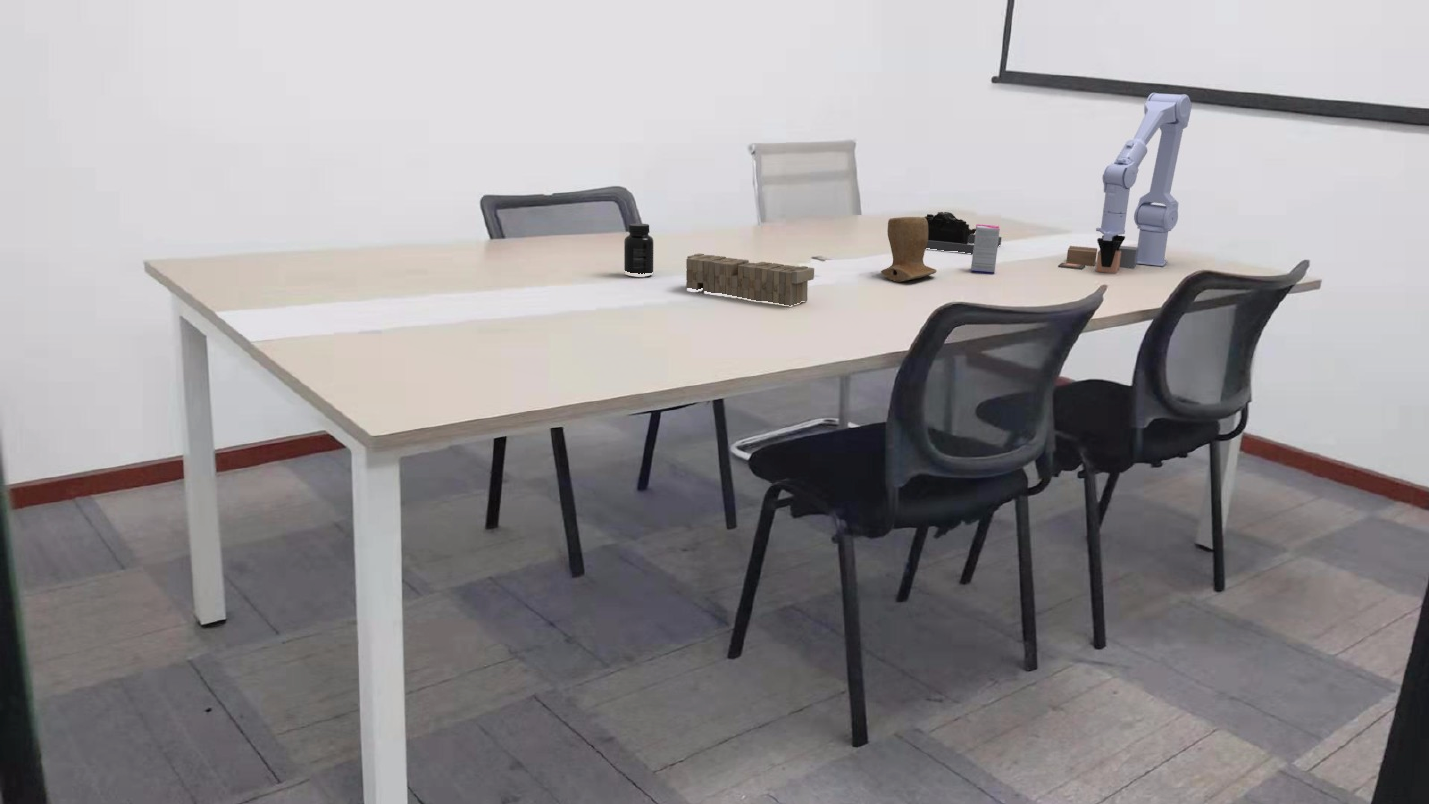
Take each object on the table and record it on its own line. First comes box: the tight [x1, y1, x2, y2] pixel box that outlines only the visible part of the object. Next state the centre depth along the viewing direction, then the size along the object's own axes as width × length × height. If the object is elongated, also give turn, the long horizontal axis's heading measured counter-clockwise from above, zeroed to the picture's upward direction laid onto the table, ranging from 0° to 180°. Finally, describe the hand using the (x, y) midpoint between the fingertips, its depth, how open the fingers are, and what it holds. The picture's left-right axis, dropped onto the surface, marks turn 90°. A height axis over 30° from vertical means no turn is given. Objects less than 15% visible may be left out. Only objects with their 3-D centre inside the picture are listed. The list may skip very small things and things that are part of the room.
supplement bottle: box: [623, 222, 654, 274], centre depth 274 cm, size 7×7×12 cm
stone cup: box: [880, 216, 937, 282], centre depth 281 cm, size 15×12×15 cm
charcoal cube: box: [1119, 245, 1139, 270], centre depth 307 cm, size 5×5×5 cm
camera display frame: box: [926, 233, 1002, 255], centre depth 330 cm, size 20×24×2 cm
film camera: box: [924, 211, 976, 244], centre depth 328 cm, size 18×12×10 cm
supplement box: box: [970, 223, 1000, 275], centre depth 292 cm, size 6×6×12 cm
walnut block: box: [1065, 245, 1098, 267], centre depth 310 cm, size 7×7×4 cm
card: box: [1057, 262, 1086, 270], centre depth 304 cm, size 5×6×1 cm
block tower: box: [685, 253, 815, 306], centre depth 255 cm, size 8×8×29 cm
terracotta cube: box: [1095, 250, 1121, 274], centre depth 300 cm, size 5×5×5 cm
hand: (1107, 265), depth 300 cm, fingers closed on terracotta cube, 5 cm apart
